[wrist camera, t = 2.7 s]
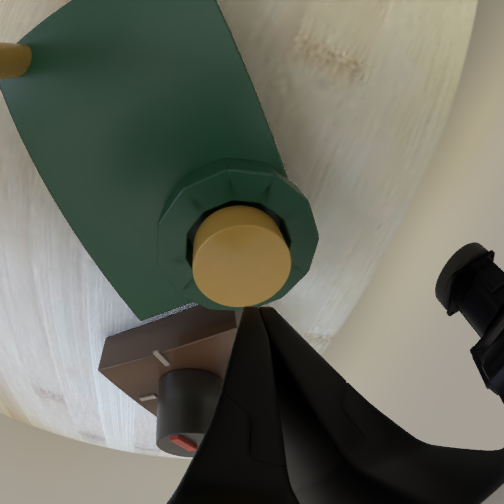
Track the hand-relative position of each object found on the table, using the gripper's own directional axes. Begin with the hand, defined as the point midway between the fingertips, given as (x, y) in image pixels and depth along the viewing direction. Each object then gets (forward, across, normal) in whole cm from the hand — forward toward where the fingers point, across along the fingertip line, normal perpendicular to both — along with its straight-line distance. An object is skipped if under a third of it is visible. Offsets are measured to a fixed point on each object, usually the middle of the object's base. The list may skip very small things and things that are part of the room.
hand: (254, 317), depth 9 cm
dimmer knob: (+5, +2, +11) cm, 12 cm away
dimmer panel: (+8, +2, +11) cm, 14 cm away
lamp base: (+8, +4, -3) cm, 10 cm away
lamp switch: (+4, 0, 0) cm, 4 cm away
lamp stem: (+8, +11, -8) cm, 15 cm away
